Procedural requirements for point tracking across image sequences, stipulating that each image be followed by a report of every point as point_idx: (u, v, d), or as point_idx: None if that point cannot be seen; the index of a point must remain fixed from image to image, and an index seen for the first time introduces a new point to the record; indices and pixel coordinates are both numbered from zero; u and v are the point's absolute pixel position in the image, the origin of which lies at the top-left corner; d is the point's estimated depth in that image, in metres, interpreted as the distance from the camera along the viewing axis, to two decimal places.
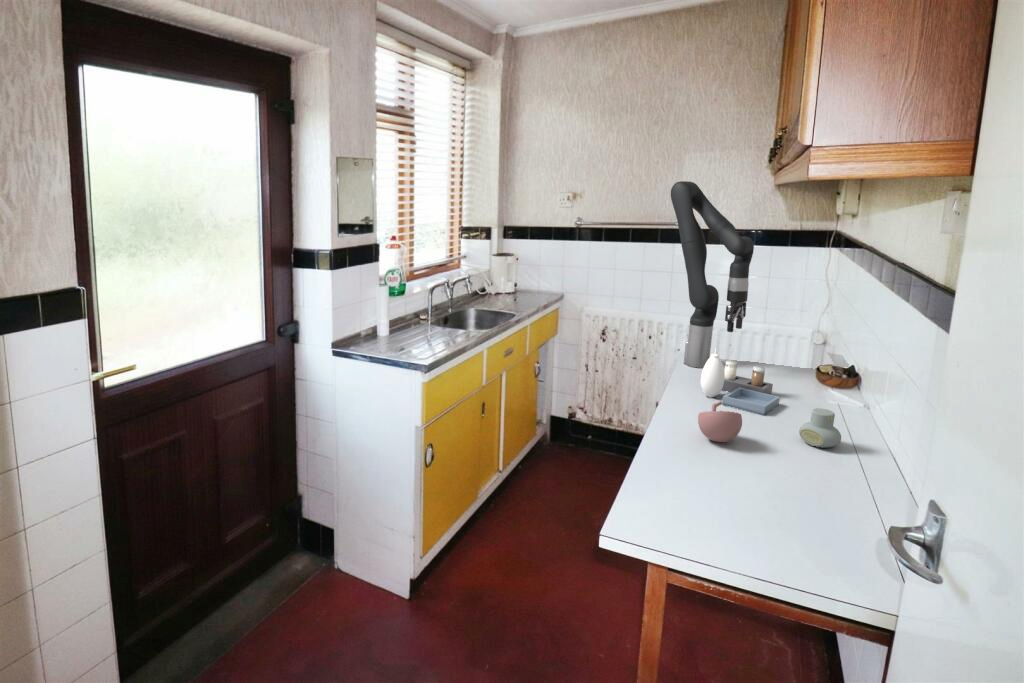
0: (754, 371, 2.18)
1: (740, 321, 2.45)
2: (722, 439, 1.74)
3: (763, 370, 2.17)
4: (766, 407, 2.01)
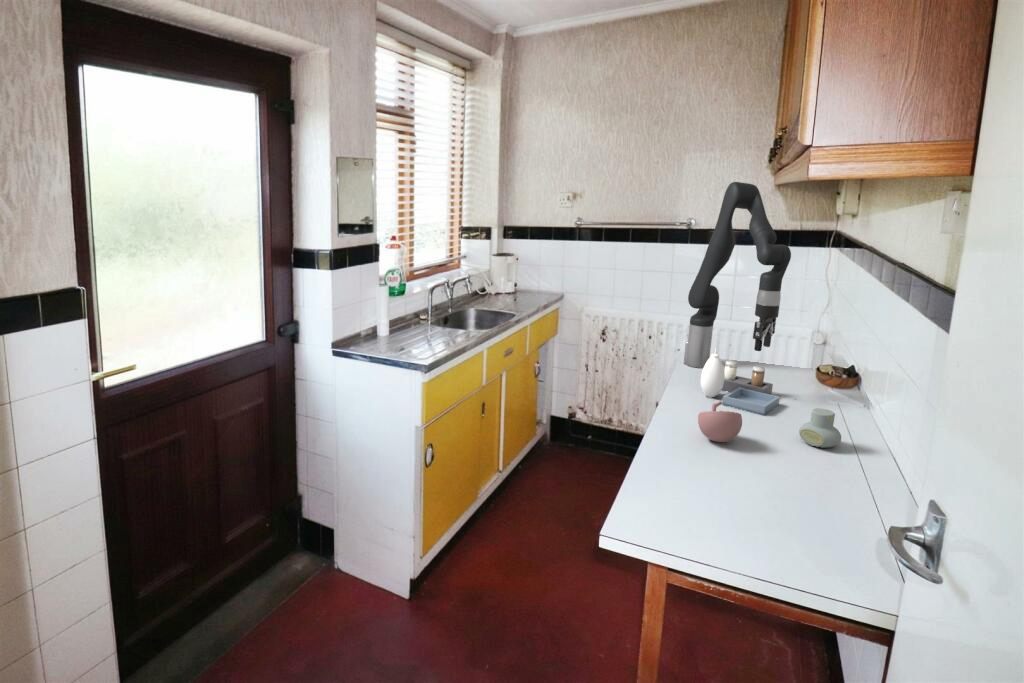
0: (754, 371, 2.18)
1: (769, 338, 2.18)
2: (722, 439, 1.74)
3: (763, 370, 2.17)
4: (766, 407, 2.01)
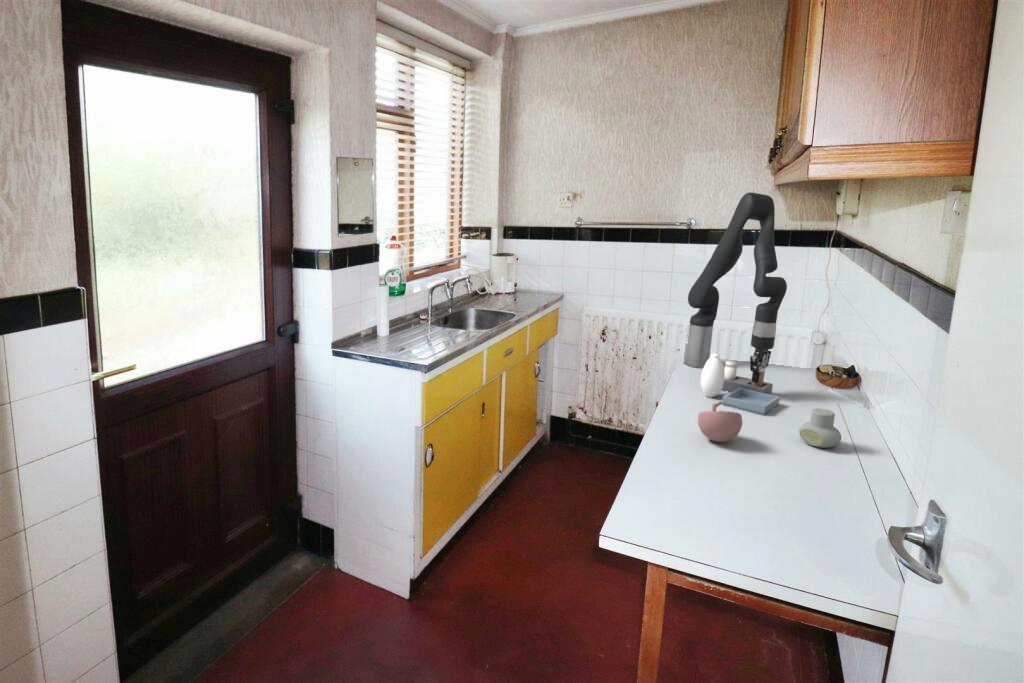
0: None
1: None
2: (722, 439, 1.74)
3: (763, 370, 2.17)
4: (766, 407, 2.01)
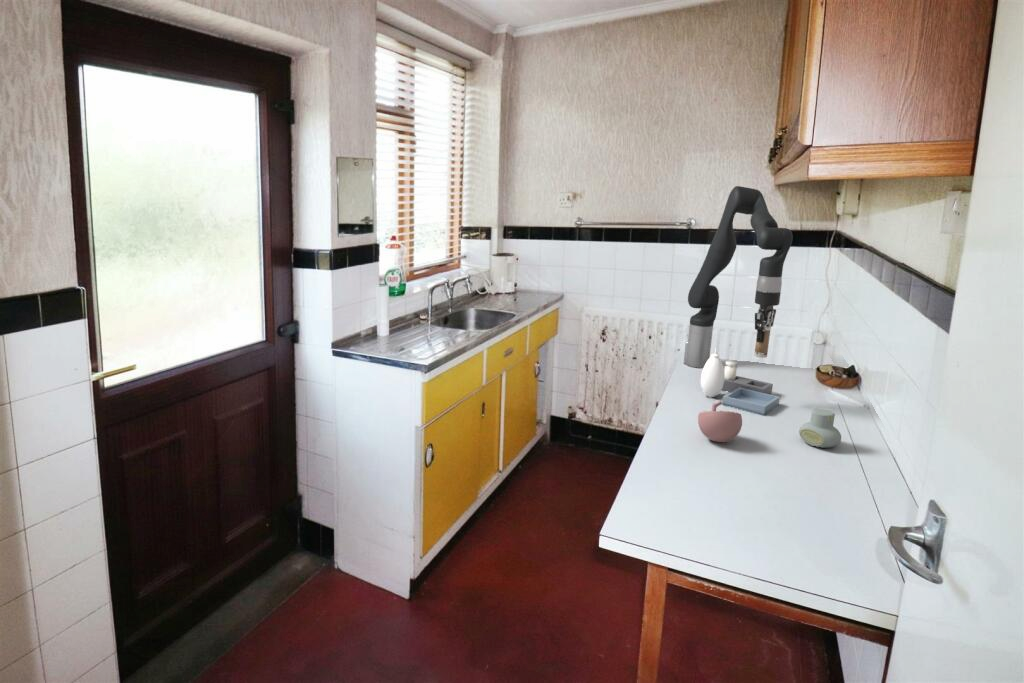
0: None
1: None
2: (722, 439, 1.74)
3: (768, 329, 2.03)
4: (766, 407, 2.01)
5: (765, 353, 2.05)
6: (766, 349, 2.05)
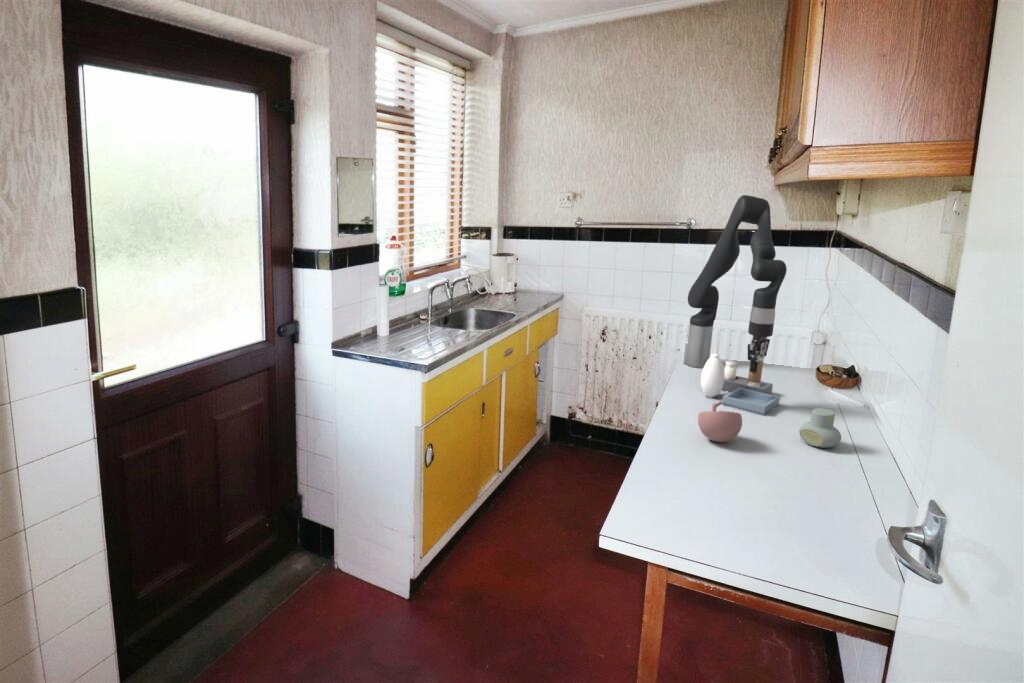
0: None
1: None
2: (722, 439, 1.74)
3: (761, 359, 2.04)
4: (766, 407, 2.01)
5: (758, 383, 2.06)
6: (759, 379, 2.06)
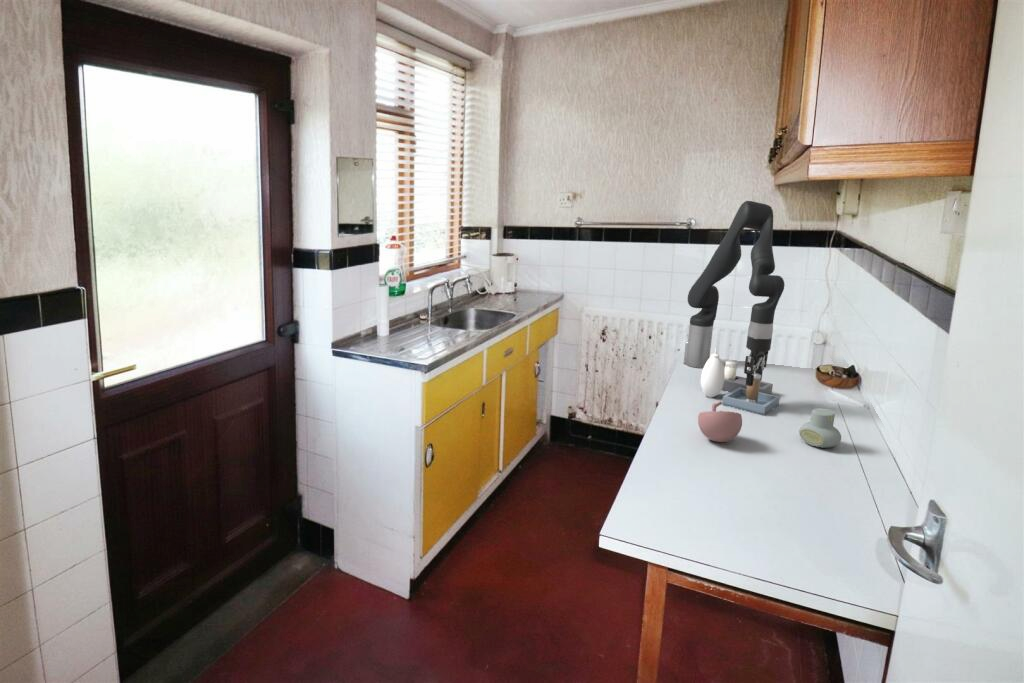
0: None
1: (760, 372, 2.09)
2: (722, 439, 1.74)
3: (759, 377, 2.06)
4: (766, 407, 2.01)
5: (755, 400, 2.08)
6: (756, 396, 2.07)
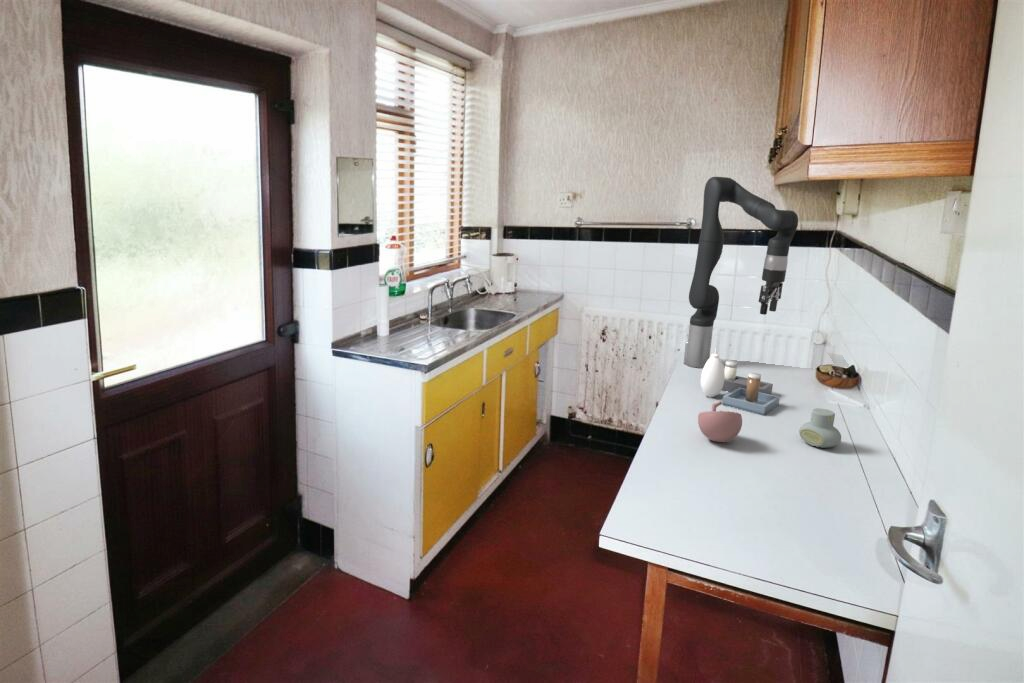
0: (749, 378, 2.07)
1: (774, 303, 2.24)
2: (722, 439, 1.74)
3: (759, 377, 2.06)
4: (766, 407, 2.01)
5: (755, 400, 2.08)
6: (756, 396, 2.07)
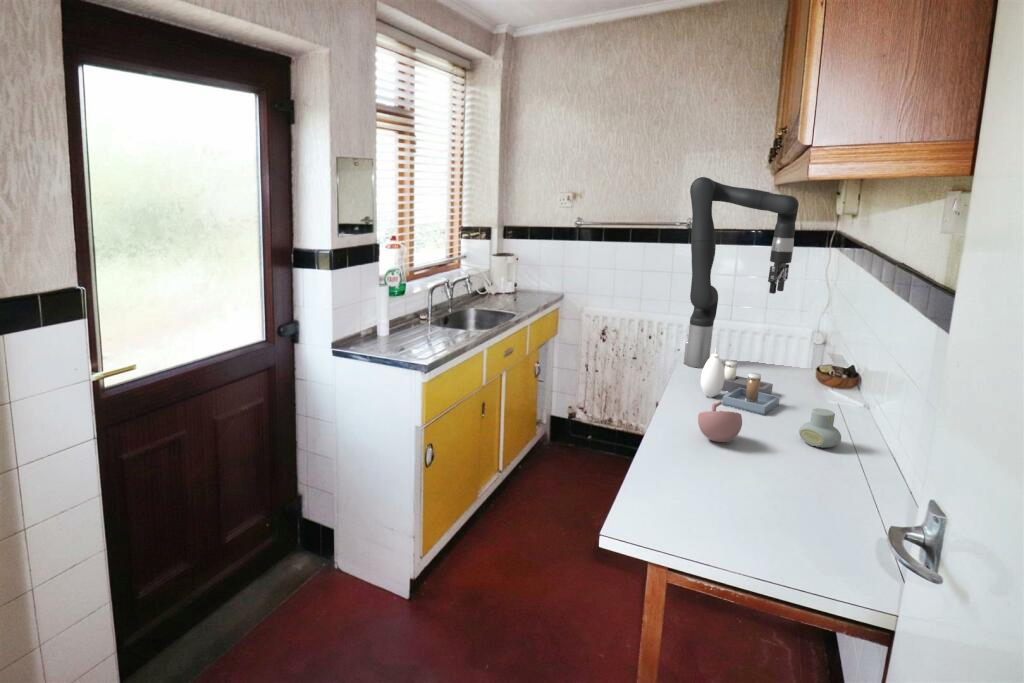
0: (749, 378, 2.07)
1: (782, 283, 2.40)
2: (722, 439, 1.74)
3: (759, 377, 2.06)
4: (766, 407, 2.01)
5: (755, 400, 2.08)
6: (756, 396, 2.07)
